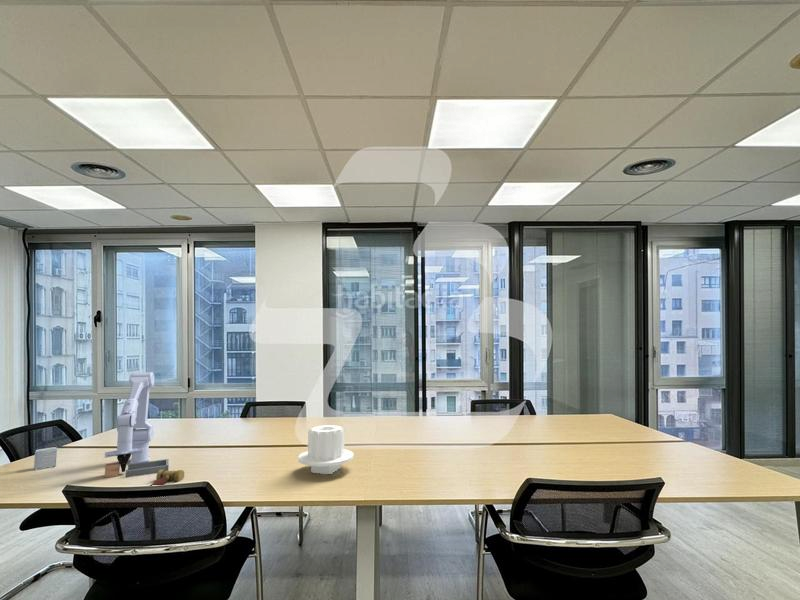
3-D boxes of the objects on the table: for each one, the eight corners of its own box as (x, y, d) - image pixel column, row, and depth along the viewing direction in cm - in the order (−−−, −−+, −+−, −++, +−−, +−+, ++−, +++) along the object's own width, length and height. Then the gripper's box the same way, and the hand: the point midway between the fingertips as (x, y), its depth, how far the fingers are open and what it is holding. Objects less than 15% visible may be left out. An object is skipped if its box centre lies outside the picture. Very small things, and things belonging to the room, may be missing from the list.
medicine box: (55, 464, 204) (56, 446, 205) (56, 466, 201) (57, 448, 202) (33, 468, 199) (34, 449, 199) (34, 470, 195) (35, 451, 196)
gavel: (154, 489, 162) (129, 488, 163) (153, 500, 162) (129, 500, 163) (184, 468, 183) (162, 468, 184) (184, 478, 183) (162, 478, 184)
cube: (106, 474, 189) (106, 463, 189) (119, 472, 191) (119, 461, 192) (104, 477, 184) (105, 466, 185) (118, 475, 187) (118, 464, 187)
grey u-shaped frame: (128, 469, 196) (128, 464, 196) (168, 464, 204) (168, 458, 204) (125, 477, 185) (126, 471, 186) (168, 471, 193) (168, 465, 194)
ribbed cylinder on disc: (336, 482, 177) (337, 436, 178) (286, 476, 185) (287, 432, 187) (362, 465, 200) (362, 424, 202) (316, 460, 209) (317, 421, 210)
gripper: (104, 444, 184) (102, 476, 183) (143, 440, 191) (141, 471, 190) (106, 441, 190) (104, 472, 189) (143, 437, 197) (142, 467, 196)
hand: (123, 471), depth 190 cm, fingers closed
